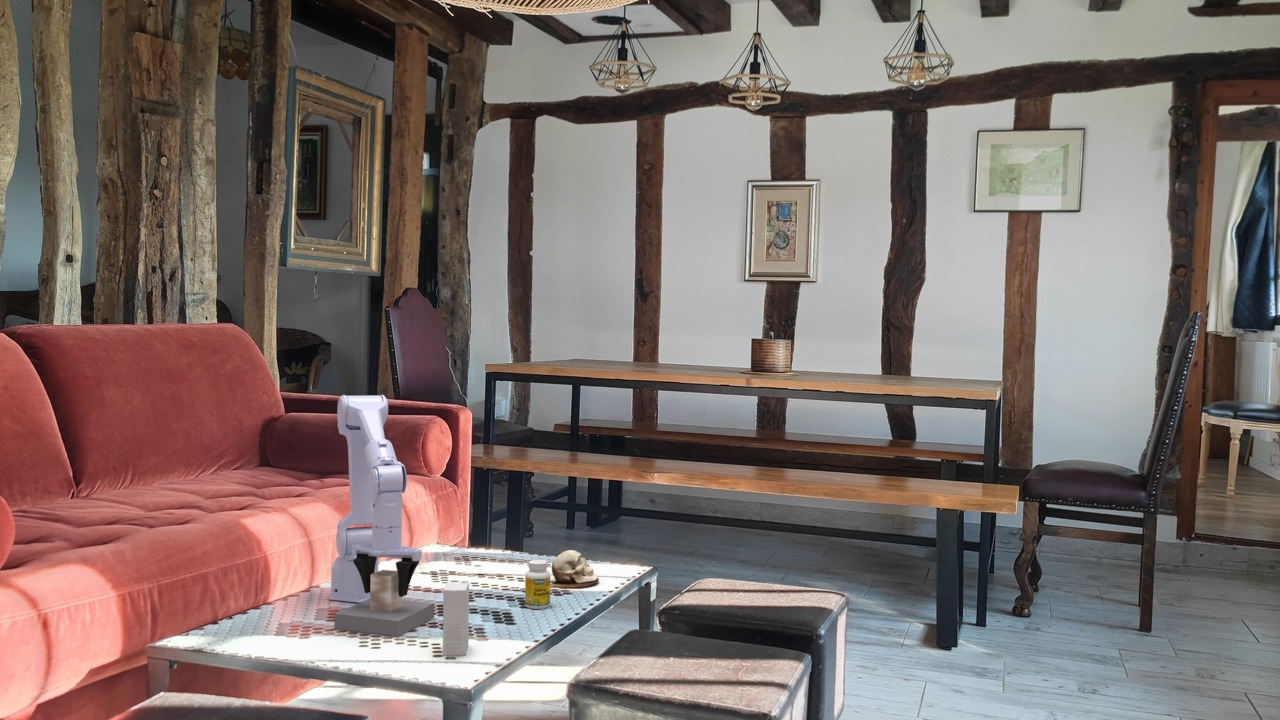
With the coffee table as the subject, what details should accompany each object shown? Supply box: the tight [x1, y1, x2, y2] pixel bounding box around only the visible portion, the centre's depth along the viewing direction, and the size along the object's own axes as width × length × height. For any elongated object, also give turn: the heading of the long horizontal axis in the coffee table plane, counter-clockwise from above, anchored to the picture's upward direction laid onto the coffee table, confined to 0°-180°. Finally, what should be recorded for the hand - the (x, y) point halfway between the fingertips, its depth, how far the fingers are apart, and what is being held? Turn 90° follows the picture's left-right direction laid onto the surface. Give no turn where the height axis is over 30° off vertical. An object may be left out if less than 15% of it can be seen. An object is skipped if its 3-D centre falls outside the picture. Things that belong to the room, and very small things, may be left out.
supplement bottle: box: [524, 559, 551, 610], centre depth 219 cm, size 5×5×10 cm
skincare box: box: [442, 581, 470, 657], centre depth 187 cm, size 6×4×12 cm
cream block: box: [370, 569, 403, 612], centre depth 204 cm, size 4×4×7 cm
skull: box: [550, 549, 600, 588], centre depth 240 cm, size 12×10×10 cm
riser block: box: [334, 599, 435, 638], centre depth 203 cm, size 14×14×3 cm
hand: (385, 593), depth 203 cm, fingers open, 7 cm apart
